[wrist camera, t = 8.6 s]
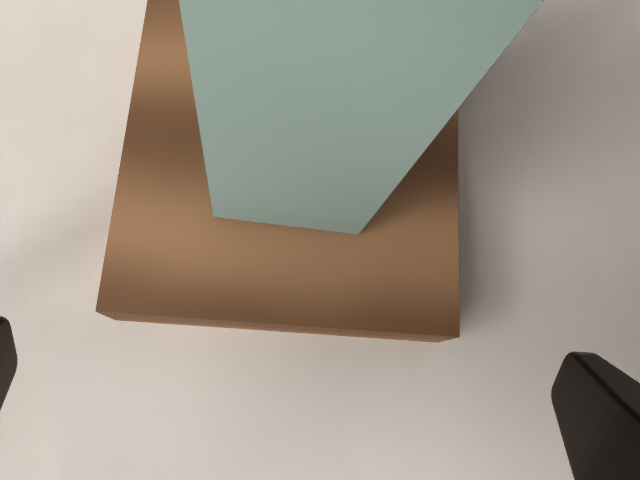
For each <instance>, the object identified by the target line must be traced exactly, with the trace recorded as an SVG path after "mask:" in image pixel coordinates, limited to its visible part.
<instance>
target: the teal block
mask: <svg viewBox="0 0 640 480" xmlns="http://www.w3.org/2000/svg"><path fill="white" fill-rule="evenodd" d="M542 1H543V0H179V5H180V11H181V17H182V23H183V30H184V36H185V42H186V48H187V55H188V61H189V67H190V73H191V80H192V86H193V92H194V98H195V105H196V111H197V117H198V123H199V130H200V136H201V142H202V148H203V155H204V161H205V167H206V173H207V180H208V186H209V192H210V198H211V205H212V211H213V217H218V218H226V219H235V220H243V221H251V222H259V223H267V224H275V225H284V226H292V227H300V228H308V229H316V230H325V231H333V232H341V233H349V234H357V235H358V234H359V233H360V232H361V231H362V229H363V228H364V227H365V226H366V224H367V223H368V222H369V221H370V219H371V218H372V217H373V215H374V214H375V213H376V212H377V210H378V209H379V208H380V207H381V205H382V204H383V203H384V202H385V200H386V199H387V198H388V196H389V195H390V194H391V193H392V191H393V190H394V189H395V188H396V186H397V185H398V184H399V183H400V181H401V180H402V179H403V177H404V176H405V175H406V174H407V172H408V171H409V170H410V169H411V167H412V166H413V165H414V164H415V162H416V161H417V160H418V158H419V157H420V156H421V155H422V153H423V152H424V151H425V150H426V148H427V147H428V146H429V145H430V143H431V142H432V141H433V139H434V138H435V137H436V136H437V134H438V133H439V132H440V131H441V129H442V128H443V127H444V126H445V124H446V123H447V122H448V121H449V119H450V118H451V117H452V115H453V114H454V113H455V112H456V110H457V109H458V108H459V107H460V105H461V104H462V103H463V102H464V100H465V99H466V98H467V96H468V95H469V94H470V93H471V91H472V90H473V89H474V88H475V86H476V85H477V84H478V83H479V81H480V80H481V79H482V77H483V76H484V75H485V74H486V72H487V71H488V70H489V69H490V67H491V66H492V65H493V64H494V62H495V61H496V60H497V58H498V57H499V56H500V55H501V53H502V52H503V51H504V50H505V48H506V47H507V46H508V45H509V43H510V42H511V41H512V39H513V38H514V37H515V36H516V34H517V33H518V32H519V31H520V29H521V28H522V27H523V26H524V24H525V23H526V22H527V20H528V19H529V18H530V17H531V15H532V14H533V13H534V12H535V10H536V9H537V8H538V7H539V5H540V4H541V3H542Z"/></svg>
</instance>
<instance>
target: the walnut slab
mask: <svg viewBox="0 0 640 480" xmlns="http://www.w3.org/2000/svg"><path fill="white" fill-rule="evenodd" d="M96 312H98V313H100V314H103V315H105V316H107V317H110V318H112V319H114V320H122V321H136V322H151V323H165V324H180V325H194V326H209V327H223V328H238V329H252V330H267V331H281V332H296V333H310V334H325V335H339V336H354V337H368V338H383V339H397V340H412V341H426V342H440V341H445V340H449V339H453V338H458V337H460V331H459V215H458V109H457V110H456V112H455V113H454V114H453V115H452V117H451V118H450V119H449V121H448V122H447V123H446V124H445V126H444V127H443V128H442V129H441V131H440V132H439V133H438V134H437V136H436V137H435V138H434V139H433V141H432V142H431V143H430V145H429V146H428V147H427V148H426V150H425V151H424V152H423V153H422V155H421V156H420V157H419V158H418V160H417V161H416V162H415V164H414V165H413V166H412V167H411V169H410V170H409V171H408V172H407V174H406V175H405V176H404V177H403V179H402V180H401V181H400V183H399V184H398V185H397V186H396V188H395V189H394V190H393V191H392V193H391V194H390V195H389V196H388V198H387V199H386V200H385V202H384V203H383V204H382V205H381V207H380V208H379V209H378V210H377V212H376V213H375V214H374V215H373V217H372V218H371V219H370V221H369V222H368V223H367V224H366V226H365V227H364V228H363V229H362V231H361V232H360V233H359V234H358V235H357V234H349V233H341V232H333V231H325V230H316V229H308V228H300V227H292V226H284V225H275V224H267V223H259V222H251V221H243V220H235V219H226V218H218V217H213V211H212V205H211V198H210V192H209V186H208V180H207V173H206V167H205V161H204V155H203V148H202V142H201V136H200V130H199V123H198V117H197V111H196V105H195V98H194V92H193V86H192V80H191V73H190V67H189V61H188V55H187V48H186V42H185V36H184V30H183V23H182V17H181V11H180V5H179V0H148V1H147V7H146V13H145V19H144V25H143V31H142V37H141V43H140V49H139V55H138V61H137V67H136V73H135V79H134V85H133V91H132V97H131V103H130V109H129V115H128V121H127V127H126V133H125V139H124V145H123V151H122V157H121V162H120V168H119V174H118V180H117V186H116V192H115V198H114V204H113V210H112V216H111V222H110V228H109V234H108V240H107V246H106V252H105V258H104V264H103V270H102V276H101V282H100V288H99V294H98V300H97V306H96Z"/></svg>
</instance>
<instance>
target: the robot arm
mask: <svg viewBox="0 0 640 480" xmlns="http://www.w3.org/2000/svg"><path fill="white" fill-rule="evenodd" d="M16 368H17V353H16V348H15V344H14V339H13V335H12V330H11V326H10V323H9V321H8V320H7V319H6V318H5V317H2V316H0V410H1V407H2V405H3V402H4V400H5V397H6V395H7V392H8V390H9V387H10V385H11V382H12V380H13V377H14V375H15V372H16ZM551 398H552V404H553V407H554V411H555V414H556V418H557V421H558V424H559V428H560V431H561V435H562V438H563V442H564V445H565V449H566V452H567V456H568V459H569V463H570V466H571V470H572V473H573V476H574V479H575V480H640V383H639V382H637V381H636V380H634V379H633V378H631V377H630V376H628V375H627V374H625V373H624V372H622V371H621V370H619V369H618V368H616V367H615V366H613V365H612V364H610V363H609V362H607V361H606V360H604V359H603V358H601V357H600V356H598V355H597V354H594V353H588V352H570V353H569V354H567V355H566V357H565V359H564V361H563V363H562V365H561V368H560V370H559V372H558V375H557V377H556V379H555V381H554V384H553V386H552V391H551Z"/></svg>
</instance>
